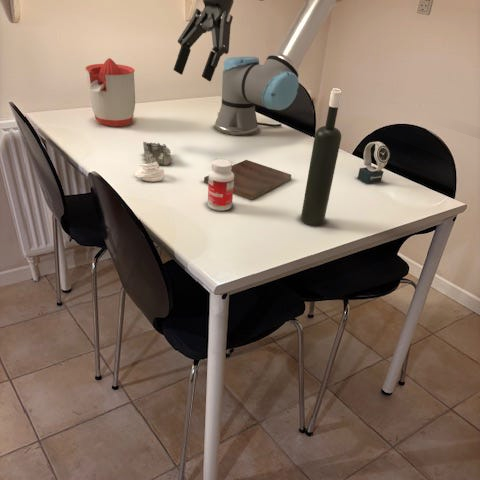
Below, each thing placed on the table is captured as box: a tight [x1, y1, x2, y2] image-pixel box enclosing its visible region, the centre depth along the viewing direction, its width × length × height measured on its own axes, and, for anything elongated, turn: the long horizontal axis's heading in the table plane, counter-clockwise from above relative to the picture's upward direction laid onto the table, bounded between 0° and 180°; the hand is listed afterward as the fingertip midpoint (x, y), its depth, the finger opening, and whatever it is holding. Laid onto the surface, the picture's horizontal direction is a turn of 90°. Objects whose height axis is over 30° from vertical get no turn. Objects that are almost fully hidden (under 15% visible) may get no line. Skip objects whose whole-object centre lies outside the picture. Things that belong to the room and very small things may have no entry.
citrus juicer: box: [85, 57, 136, 128], centre depth 160 cm, size 16×17×20 cm
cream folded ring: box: [134, 162, 165, 183], centre depth 129 cm, size 8×7×5 cm
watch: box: [356, 141, 391, 185], centre depth 139 cm, size 6×8×11 cm
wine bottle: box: [300, 87, 342, 227], centre depth 108 cm, size 6×6×30 cm
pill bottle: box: [207, 158, 234, 212], centre depth 117 cm, size 6×6×11 cm
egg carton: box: [142, 141, 172, 166], centre depth 141 cm, size 11×8×4 cm
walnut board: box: [203, 159, 292, 201], centre depth 134 cm, size 20×16×2 cm
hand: (191, 75), depth 129 cm, fingers open, 13 cm apart
